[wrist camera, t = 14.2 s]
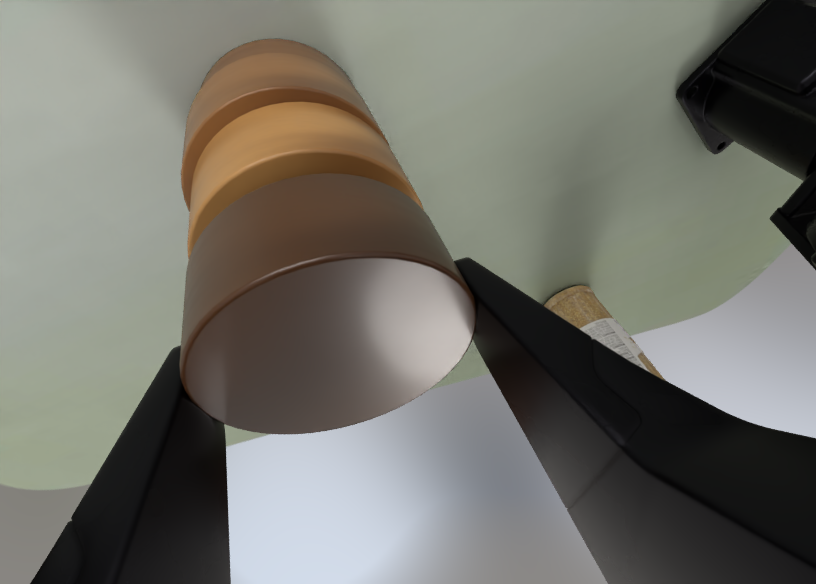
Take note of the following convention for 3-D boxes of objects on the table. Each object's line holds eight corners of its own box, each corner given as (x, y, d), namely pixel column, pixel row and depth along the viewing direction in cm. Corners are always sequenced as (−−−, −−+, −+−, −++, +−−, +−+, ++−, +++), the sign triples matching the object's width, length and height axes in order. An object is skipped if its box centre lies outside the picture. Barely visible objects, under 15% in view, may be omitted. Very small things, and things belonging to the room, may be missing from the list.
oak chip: (438, 166, 12) (470, 213, 11) (338, 293, 15) (353, 345, 14) (247, 46, 9) (253, 91, 7) (160, 244, 11) (151, 308, 10)
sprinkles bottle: (589, 305, 33) (721, 469, 24) (538, 330, 33) (651, 499, 24) (591, 272, 29) (746, 450, 21) (534, 300, 29) (663, 486, 21)
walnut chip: (483, 233, 10) (530, 303, 9) (359, 365, 13) (378, 438, 12) (257, 113, 7) (269, 196, 5) (149, 333, 9) (135, 433, 8)
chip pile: (395, 96, 16) (441, 161, 12) (317, 216, 18) (338, 293, 15) (230, -22, 12) (235, 29, 8) (163, 153, 14) (148, 240, 11)
